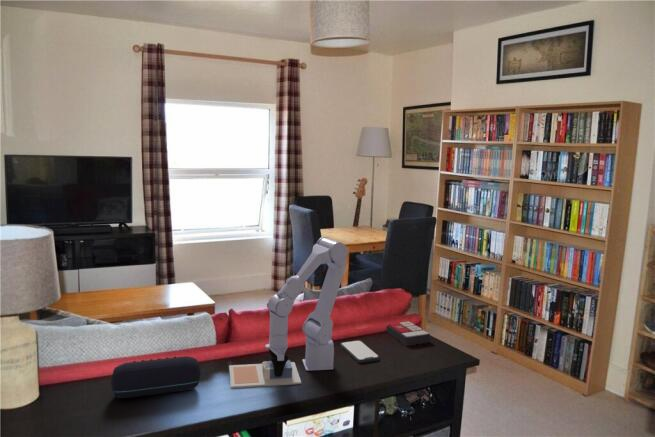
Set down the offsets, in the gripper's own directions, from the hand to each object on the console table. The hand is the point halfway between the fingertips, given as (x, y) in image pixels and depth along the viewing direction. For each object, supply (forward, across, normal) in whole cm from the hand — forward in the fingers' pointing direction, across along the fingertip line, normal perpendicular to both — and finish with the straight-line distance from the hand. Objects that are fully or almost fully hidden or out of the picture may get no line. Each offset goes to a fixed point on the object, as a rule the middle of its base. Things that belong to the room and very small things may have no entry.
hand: (277, 371), depth 169 cm
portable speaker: (+2, +5, -37) cm, 37 cm away
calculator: (+2, -26, +55) cm, 61 cm away
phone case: (+2, -14, +32) cm, 35 cm away
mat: (+2, -1, -4) cm, 4 cm away
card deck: (+1, 0, 0) cm, 1 cm away
